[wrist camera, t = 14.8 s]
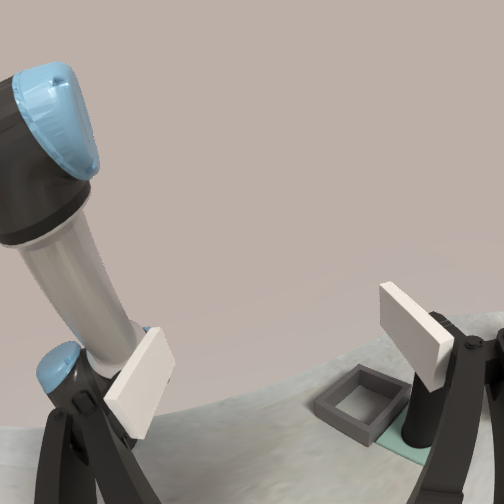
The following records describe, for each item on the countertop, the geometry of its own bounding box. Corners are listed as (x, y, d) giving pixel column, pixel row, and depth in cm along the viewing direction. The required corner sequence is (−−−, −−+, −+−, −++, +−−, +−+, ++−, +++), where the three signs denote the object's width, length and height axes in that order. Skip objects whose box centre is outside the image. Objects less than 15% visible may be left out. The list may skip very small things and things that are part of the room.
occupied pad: (375, 443, 33) (376, 441, 33) (412, 399, 39) (412, 397, 39) (431, 469, 23) (432, 468, 23) (463, 418, 29) (464, 416, 29)
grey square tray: (315, 416, 44) (313, 401, 43) (358, 379, 50) (358, 363, 49) (367, 447, 33) (369, 433, 32) (408, 400, 39) (411, 384, 38)
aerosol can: (445, 446, 25) (482, 353, 21) (398, 450, 29) (420, 361, 24) (443, 410, 32) (467, 317, 28) (402, 414, 36) (415, 323, 31)
